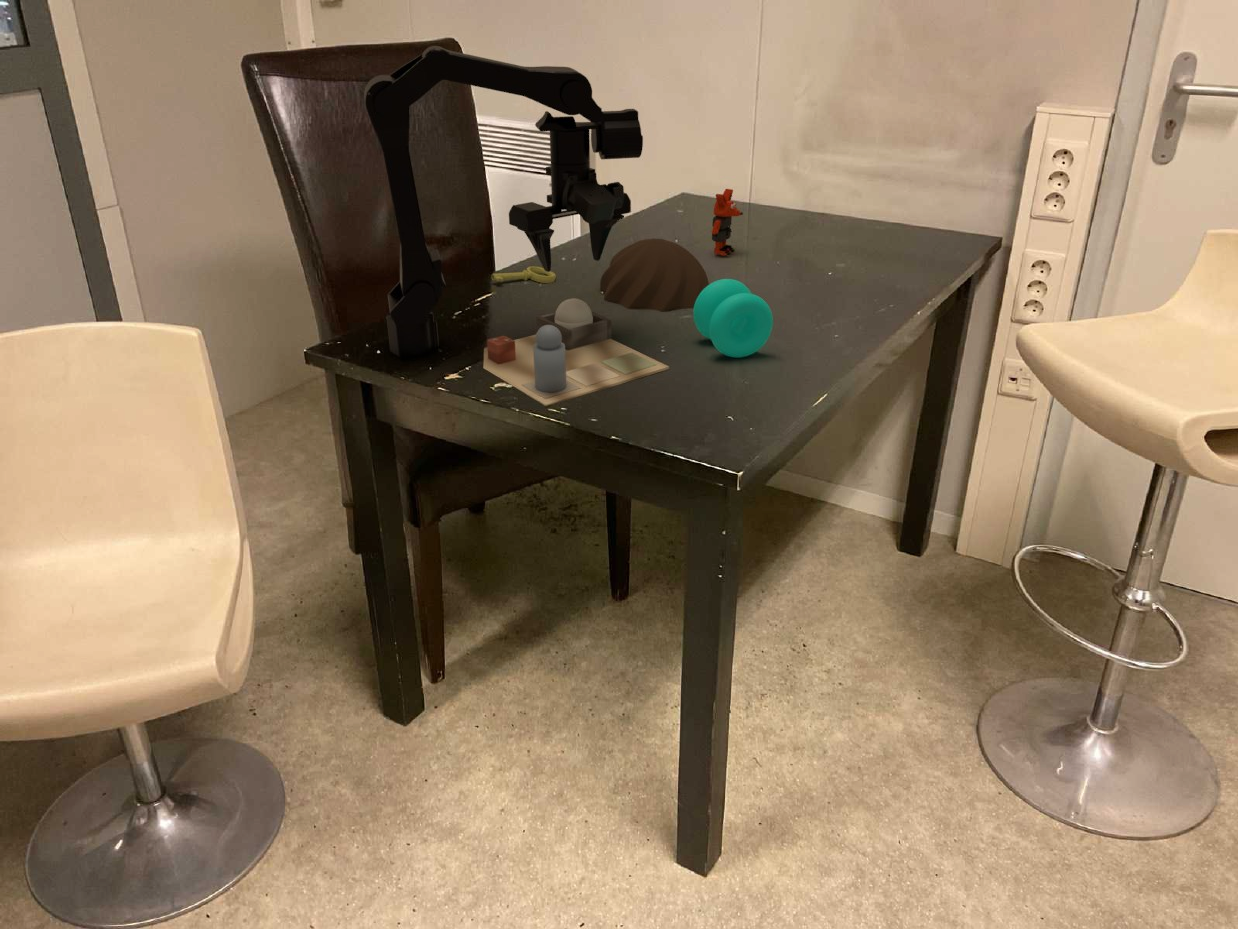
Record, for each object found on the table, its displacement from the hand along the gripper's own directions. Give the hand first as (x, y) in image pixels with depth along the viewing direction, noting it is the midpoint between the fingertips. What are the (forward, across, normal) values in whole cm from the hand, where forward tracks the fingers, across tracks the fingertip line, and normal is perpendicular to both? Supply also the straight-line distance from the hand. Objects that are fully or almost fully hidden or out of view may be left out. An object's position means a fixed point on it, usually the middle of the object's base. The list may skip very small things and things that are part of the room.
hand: (572, 265), depth 153 cm
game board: (+12, -7, -7) cm, 15 cm away
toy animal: (+12, +52, +20) cm, 57 cm away
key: (+12, +6, +26) cm, 29 cm away
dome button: (+11, 0, 0) cm, 11 cm away
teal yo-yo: (+12, +17, -18) cm, 28 cm away
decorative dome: (+12, +25, +10) cm, 30 cm away
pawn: (+12, -14, -14) cm, 23 cm away
